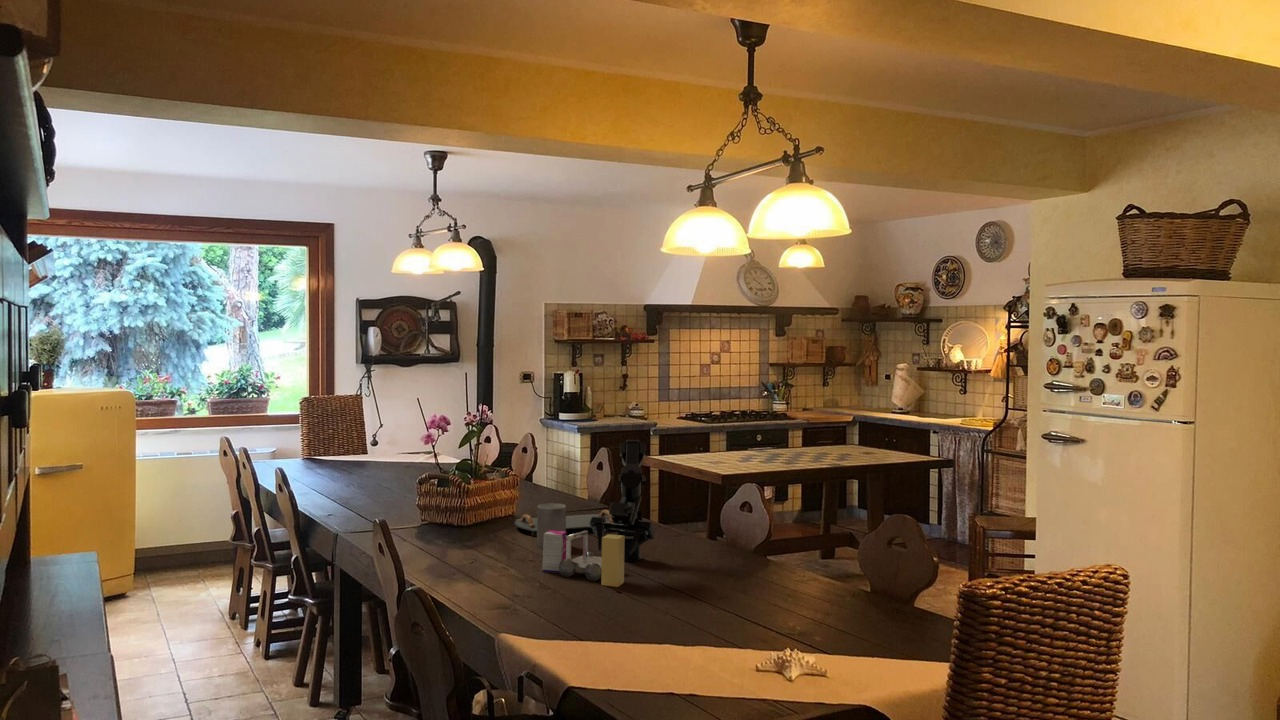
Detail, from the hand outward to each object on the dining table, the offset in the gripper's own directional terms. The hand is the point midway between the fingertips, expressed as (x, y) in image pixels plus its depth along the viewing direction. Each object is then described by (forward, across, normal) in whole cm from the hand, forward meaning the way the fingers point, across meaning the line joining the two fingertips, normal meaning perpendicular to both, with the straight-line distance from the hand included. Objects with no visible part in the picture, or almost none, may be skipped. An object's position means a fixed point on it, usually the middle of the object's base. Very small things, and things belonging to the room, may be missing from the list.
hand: (614, 552), depth 273 cm
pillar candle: (-19, -37, +32) cm, 53 cm away
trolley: (+2, -10, +10) cm, 14 cm away
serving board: (-40, -45, +54) cm, 81 cm away
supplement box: (+2, -22, +11) cm, 24 cm away
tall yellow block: (+7, 0, +5) cm, 9 cm away
